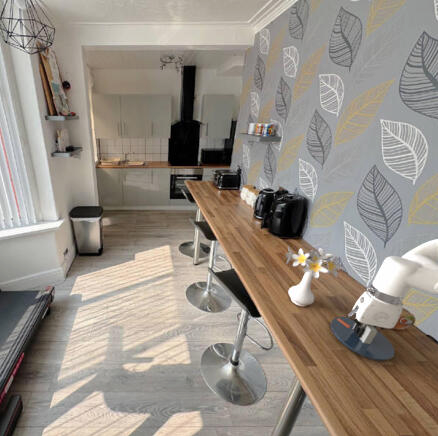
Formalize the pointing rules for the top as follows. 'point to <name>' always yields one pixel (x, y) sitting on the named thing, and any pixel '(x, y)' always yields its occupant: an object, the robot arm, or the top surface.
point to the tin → (405, 320)
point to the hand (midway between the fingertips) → (361, 335)
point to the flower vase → (310, 273)
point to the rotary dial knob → (362, 339)
